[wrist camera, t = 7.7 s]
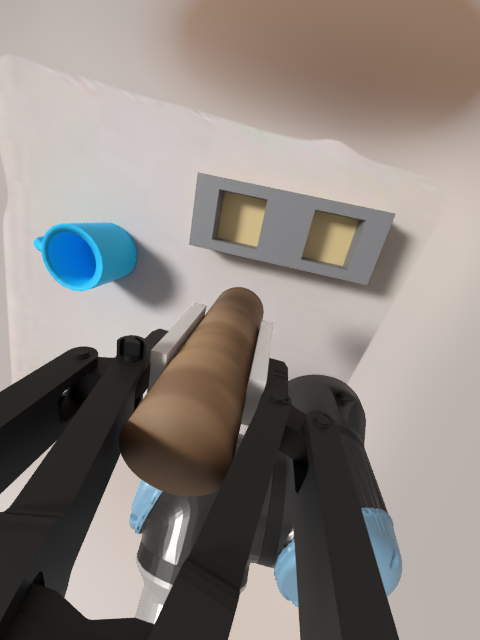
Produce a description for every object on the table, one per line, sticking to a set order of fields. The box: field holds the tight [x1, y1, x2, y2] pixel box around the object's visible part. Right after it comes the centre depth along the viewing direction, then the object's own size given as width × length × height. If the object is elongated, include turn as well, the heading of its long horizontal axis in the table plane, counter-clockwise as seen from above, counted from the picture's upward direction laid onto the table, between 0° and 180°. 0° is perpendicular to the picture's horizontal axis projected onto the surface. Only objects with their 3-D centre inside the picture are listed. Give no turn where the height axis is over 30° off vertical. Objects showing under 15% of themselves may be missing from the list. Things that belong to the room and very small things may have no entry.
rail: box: [189, 173, 395, 285], centre depth 33 cm, size 22×8×5 cm, turn 79°
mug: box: [34, 223, 137, 291], centre depth 36 cm, size 12×8×8 cm
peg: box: [119, 287, 263, 497], centre depth 15 cm, size 4×4×14 cm
